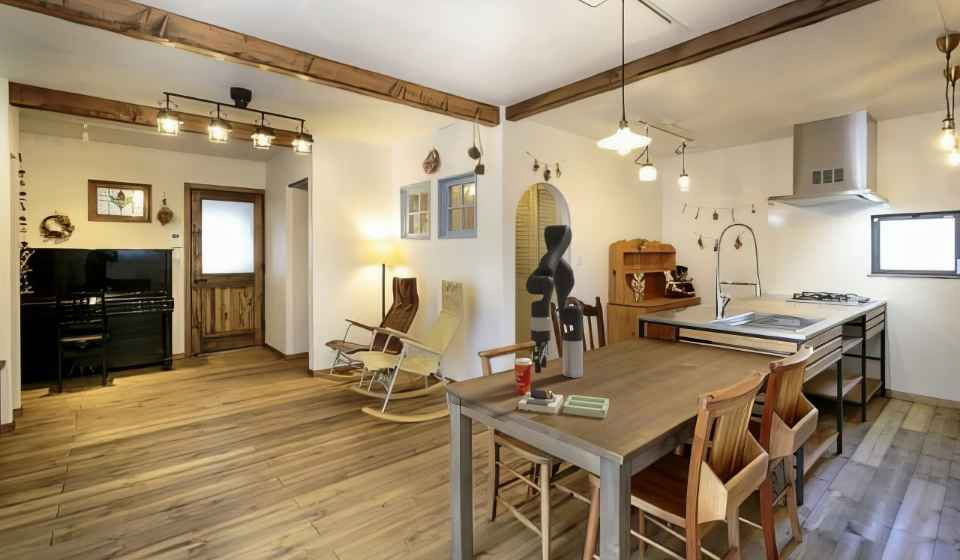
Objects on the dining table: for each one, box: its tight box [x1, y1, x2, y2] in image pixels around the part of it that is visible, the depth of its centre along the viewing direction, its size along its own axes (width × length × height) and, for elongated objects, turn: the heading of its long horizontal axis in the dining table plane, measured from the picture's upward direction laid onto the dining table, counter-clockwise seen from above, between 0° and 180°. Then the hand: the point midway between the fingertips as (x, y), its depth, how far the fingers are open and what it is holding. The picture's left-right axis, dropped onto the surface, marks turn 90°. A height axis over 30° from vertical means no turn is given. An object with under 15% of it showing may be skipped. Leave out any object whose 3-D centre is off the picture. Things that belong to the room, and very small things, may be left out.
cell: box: [530, 388, 554, 400], centre depth 175 cm, size 3×9×3 cm, turn 68°
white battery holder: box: [518, 391, 564, 414], centre depth 175 cm, size 14×14×4 cm
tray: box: [562, 394, 610, 419], centre depth 170 cm, size 14×15×3 cm
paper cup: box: [513, 357, 533, 395], centre depth 191 cm, size 8×8×14 cm
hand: (540, 370), depth 174 cm, fingers open, 8 cm apart
